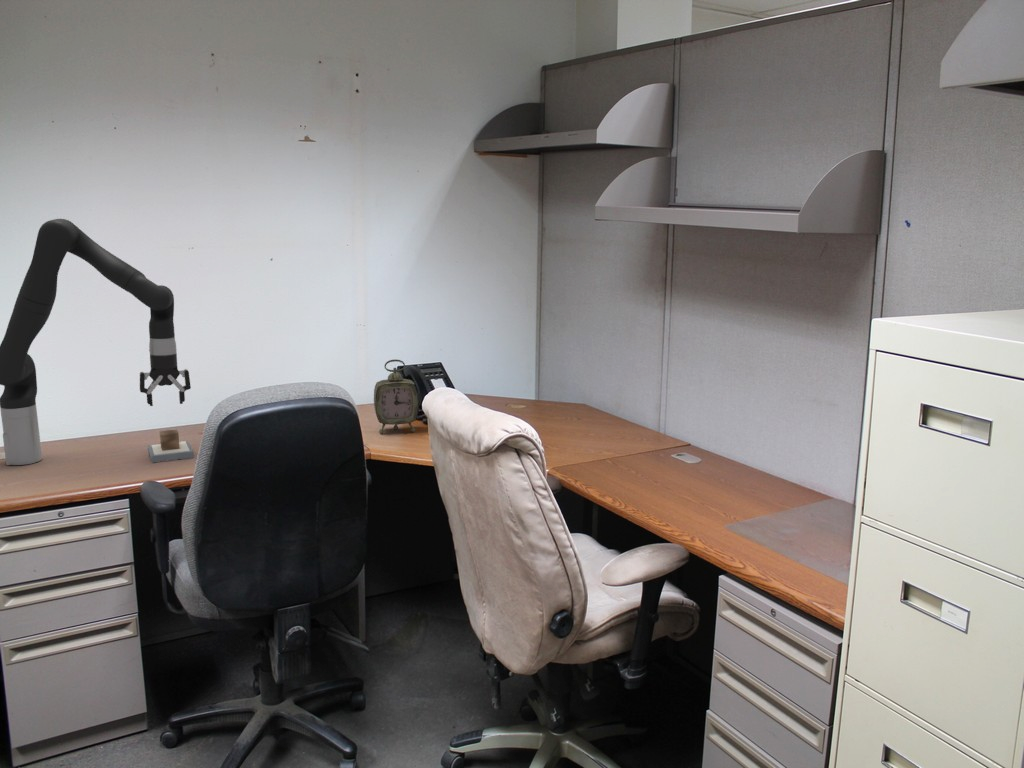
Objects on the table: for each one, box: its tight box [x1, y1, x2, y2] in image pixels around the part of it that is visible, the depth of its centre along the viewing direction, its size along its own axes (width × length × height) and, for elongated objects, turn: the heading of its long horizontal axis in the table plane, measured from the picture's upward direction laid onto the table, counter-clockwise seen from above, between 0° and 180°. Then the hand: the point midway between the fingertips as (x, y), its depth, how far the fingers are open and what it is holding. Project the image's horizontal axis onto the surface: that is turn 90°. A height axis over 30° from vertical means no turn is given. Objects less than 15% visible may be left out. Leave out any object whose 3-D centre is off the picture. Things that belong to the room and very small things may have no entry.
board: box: [147, 440, 195, 463], centre depth 260 cm, size 12×14×2 cm
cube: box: [159, 429, 180, 451], centre depth 259 cm, size 5×5×5 cm
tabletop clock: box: [373, 359, 419, 435], centre depth 286 cm, size 14×9×25 cm, turn 104°
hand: (166, 404), depth 257 cm, fingers open, 8 cm apart
